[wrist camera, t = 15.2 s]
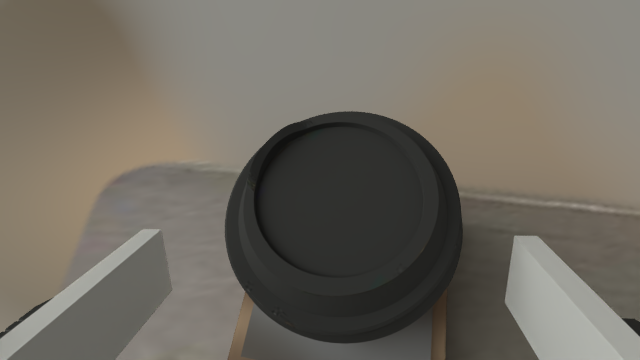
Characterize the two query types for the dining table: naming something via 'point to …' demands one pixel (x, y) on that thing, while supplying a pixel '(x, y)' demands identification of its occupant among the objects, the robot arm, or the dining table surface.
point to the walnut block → (316, 356)
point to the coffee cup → (345, 227)
